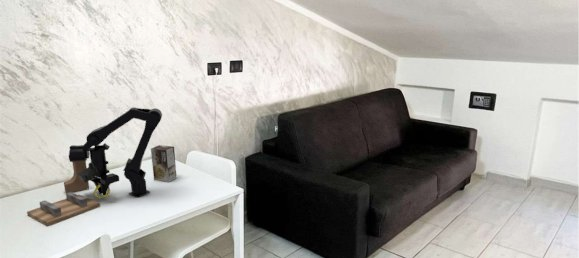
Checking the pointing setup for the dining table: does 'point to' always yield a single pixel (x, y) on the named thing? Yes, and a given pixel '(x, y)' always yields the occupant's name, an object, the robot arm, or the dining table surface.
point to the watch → (101, 196)
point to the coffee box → (163, 163)
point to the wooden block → (76, 179)
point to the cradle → (62, 209)
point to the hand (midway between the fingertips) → (102, 194)
